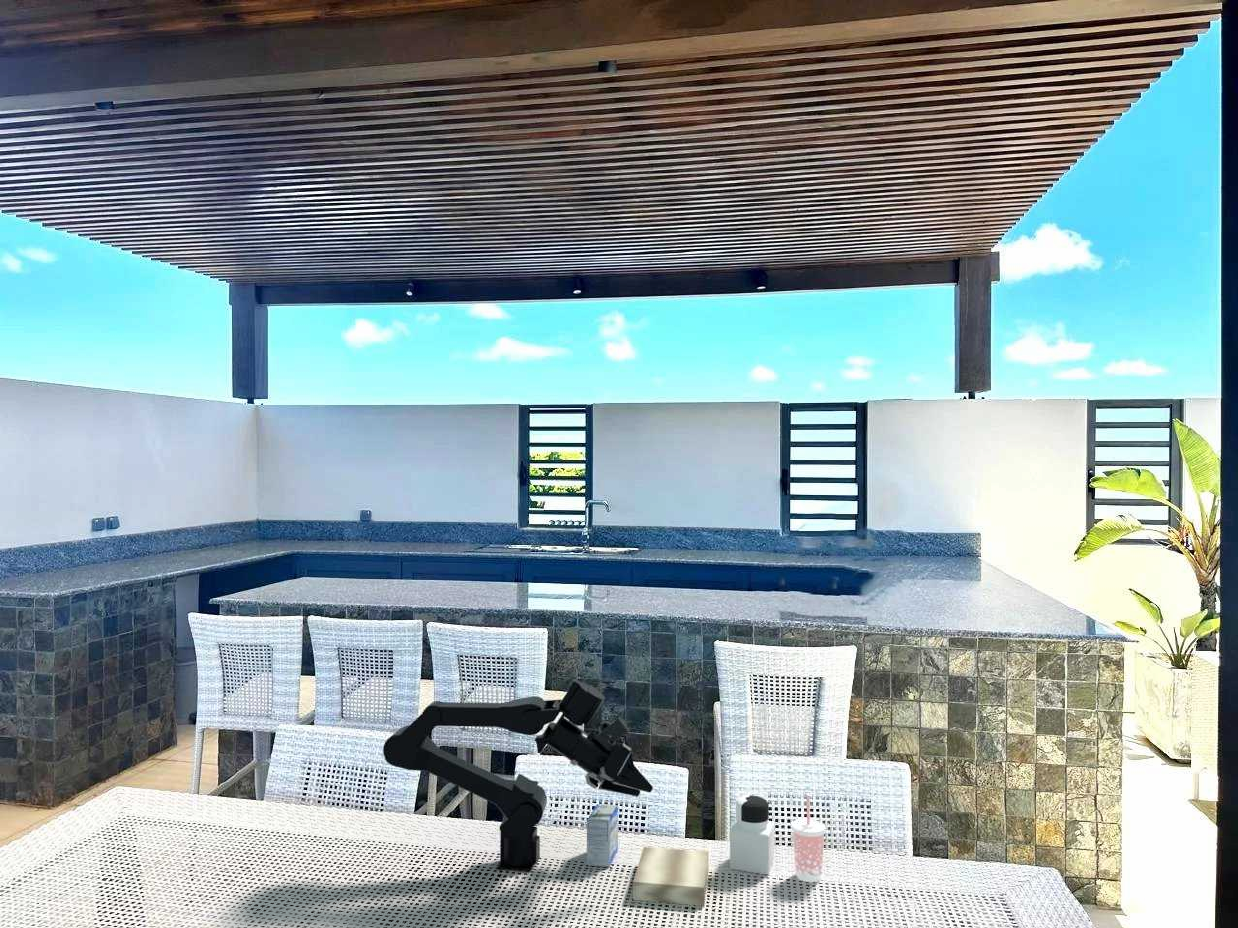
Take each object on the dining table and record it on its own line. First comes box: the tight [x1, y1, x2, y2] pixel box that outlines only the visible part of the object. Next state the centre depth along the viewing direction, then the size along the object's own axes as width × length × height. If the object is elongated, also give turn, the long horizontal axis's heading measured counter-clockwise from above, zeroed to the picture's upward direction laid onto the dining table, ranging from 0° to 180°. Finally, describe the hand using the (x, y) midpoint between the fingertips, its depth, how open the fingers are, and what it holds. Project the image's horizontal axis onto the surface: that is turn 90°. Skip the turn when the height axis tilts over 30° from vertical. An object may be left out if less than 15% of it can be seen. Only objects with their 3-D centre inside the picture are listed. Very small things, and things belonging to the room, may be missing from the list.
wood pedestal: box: [632, 846, 709, 907], centre depth 141 cm, size 12×14×3 cm
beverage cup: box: [790, 796, 827, 883], centre depth 144 cm, size 6×6×14 cm
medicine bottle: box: [729, 794, 775, 875], centre depth 149 cm, size 7×7×12 cm
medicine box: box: [586, 803, 619, 868], centre depth 151 cm, size 8×4×9 cm, turn 168°
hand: (645, 791), depth 148 cm, fingers open, 9 cm apart
